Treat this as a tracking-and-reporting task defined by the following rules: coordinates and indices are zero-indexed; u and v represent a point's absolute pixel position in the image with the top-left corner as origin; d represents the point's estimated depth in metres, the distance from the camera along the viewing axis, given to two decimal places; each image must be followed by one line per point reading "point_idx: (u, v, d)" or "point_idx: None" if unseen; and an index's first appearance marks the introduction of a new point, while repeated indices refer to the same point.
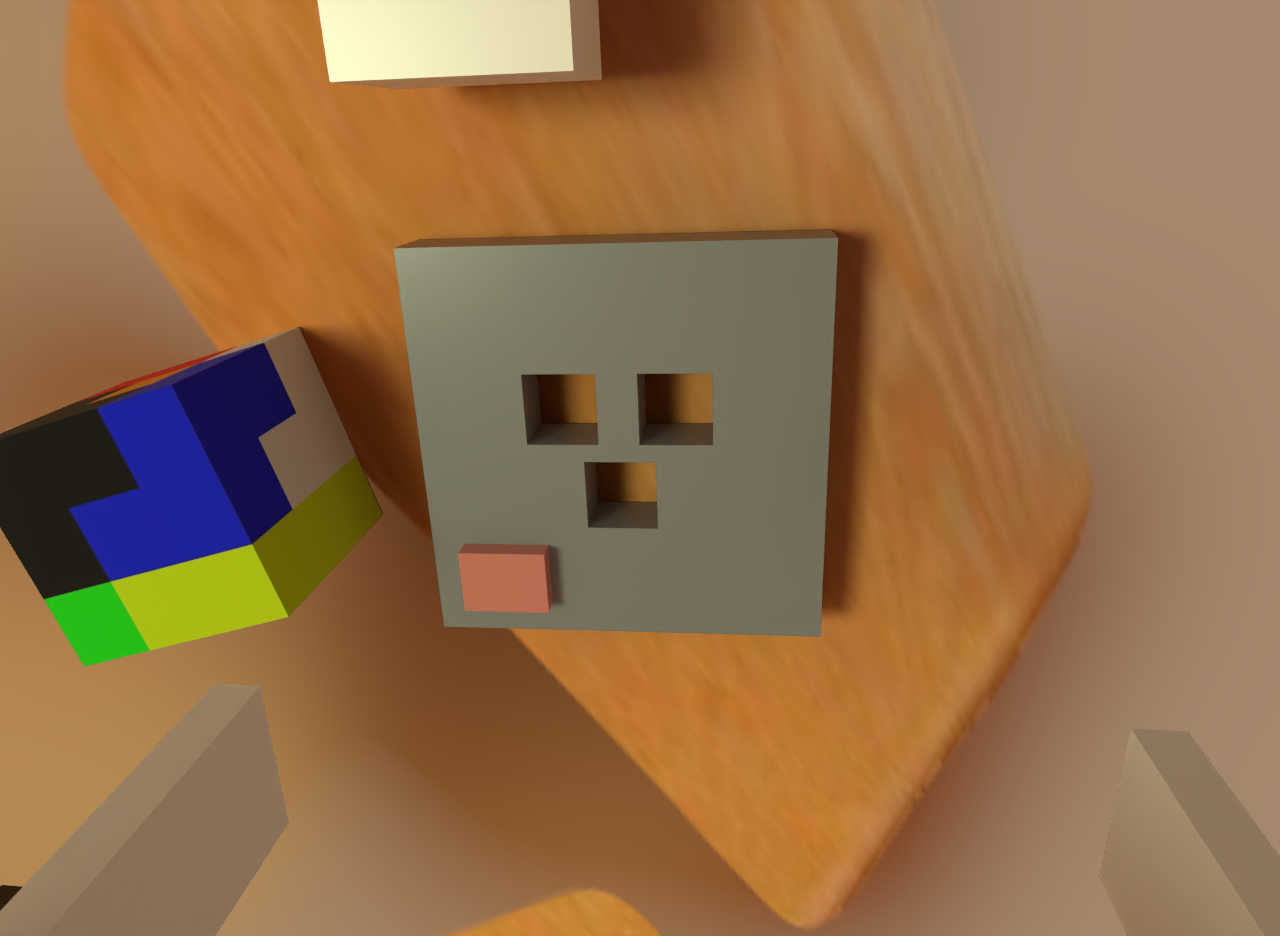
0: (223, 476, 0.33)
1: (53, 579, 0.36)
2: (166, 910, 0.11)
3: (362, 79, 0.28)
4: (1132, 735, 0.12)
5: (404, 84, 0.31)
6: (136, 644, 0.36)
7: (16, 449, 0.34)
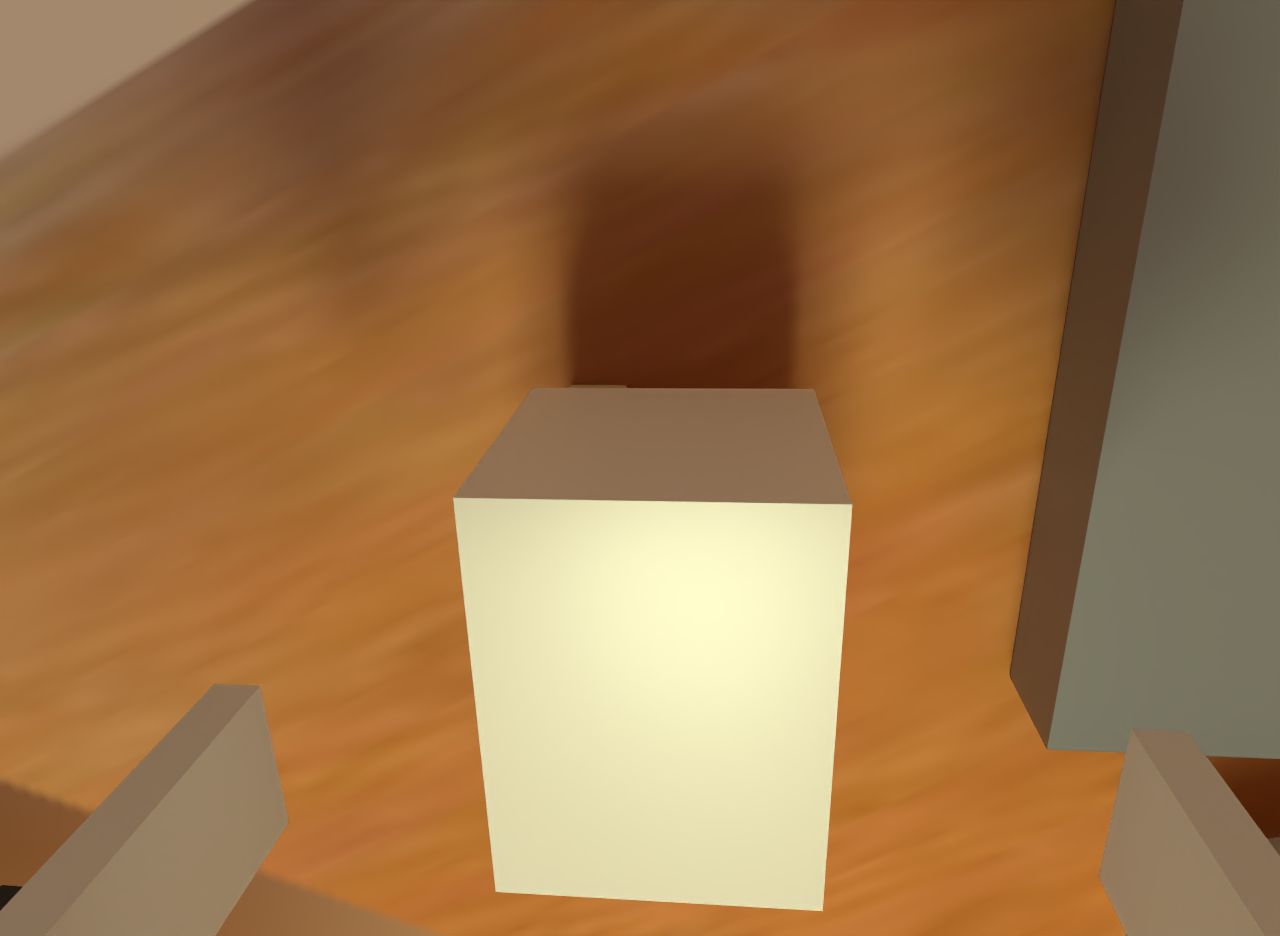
0: None
1: None
2: (166, 910, 0.11)
3: (824, 863, 0.15)
4: (1132, 735, 0.12)
5: None
6: None
7: None
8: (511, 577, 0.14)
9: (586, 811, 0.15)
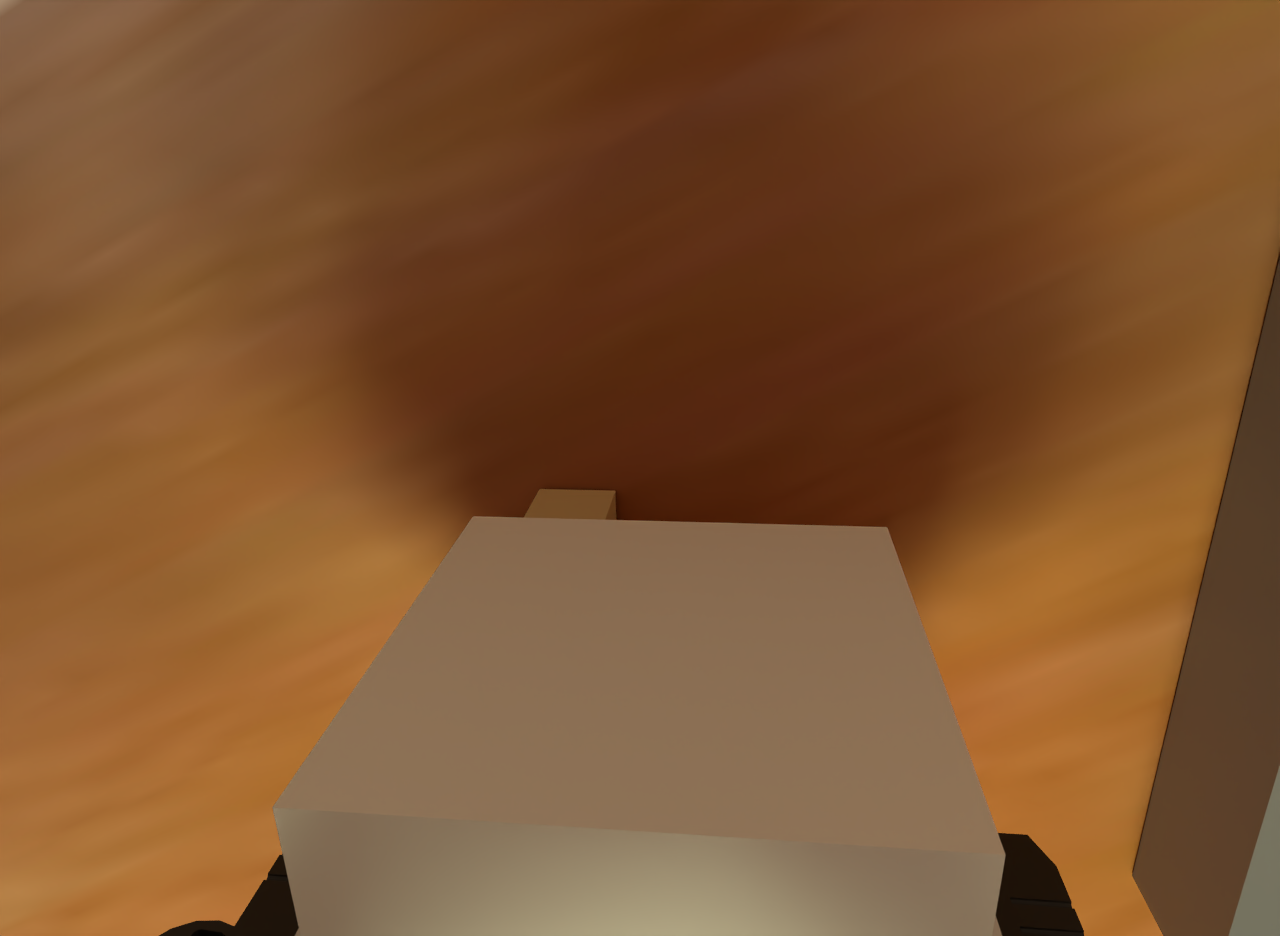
0: None
1: None
2: None
3: None
4: None
5: None
6: None
7: None
8: (384, 933, 0.08)
9: None
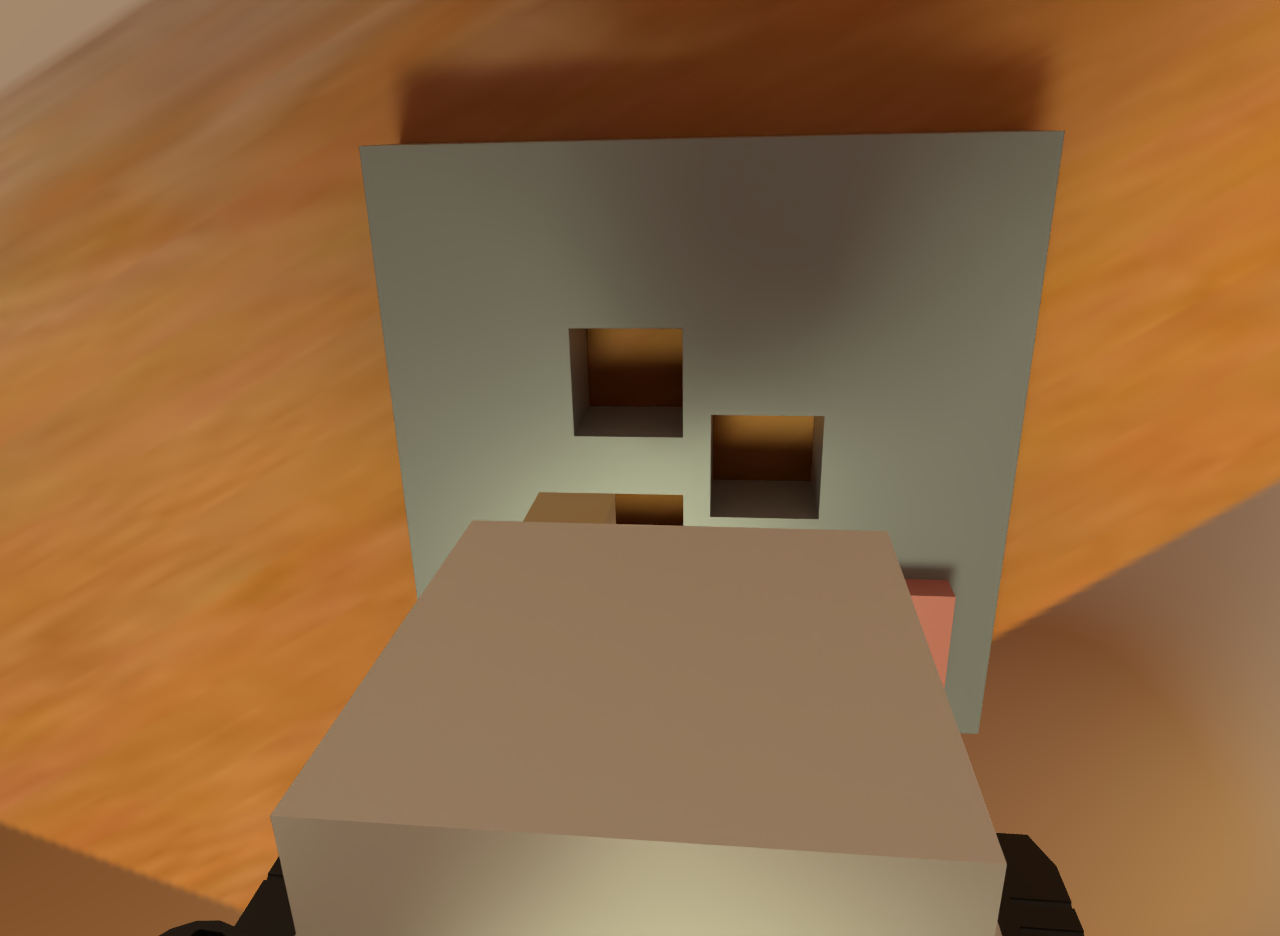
0: None
1: None
2: None
3: None
4: None
5: None
6: None
7: None
8: None
9: None
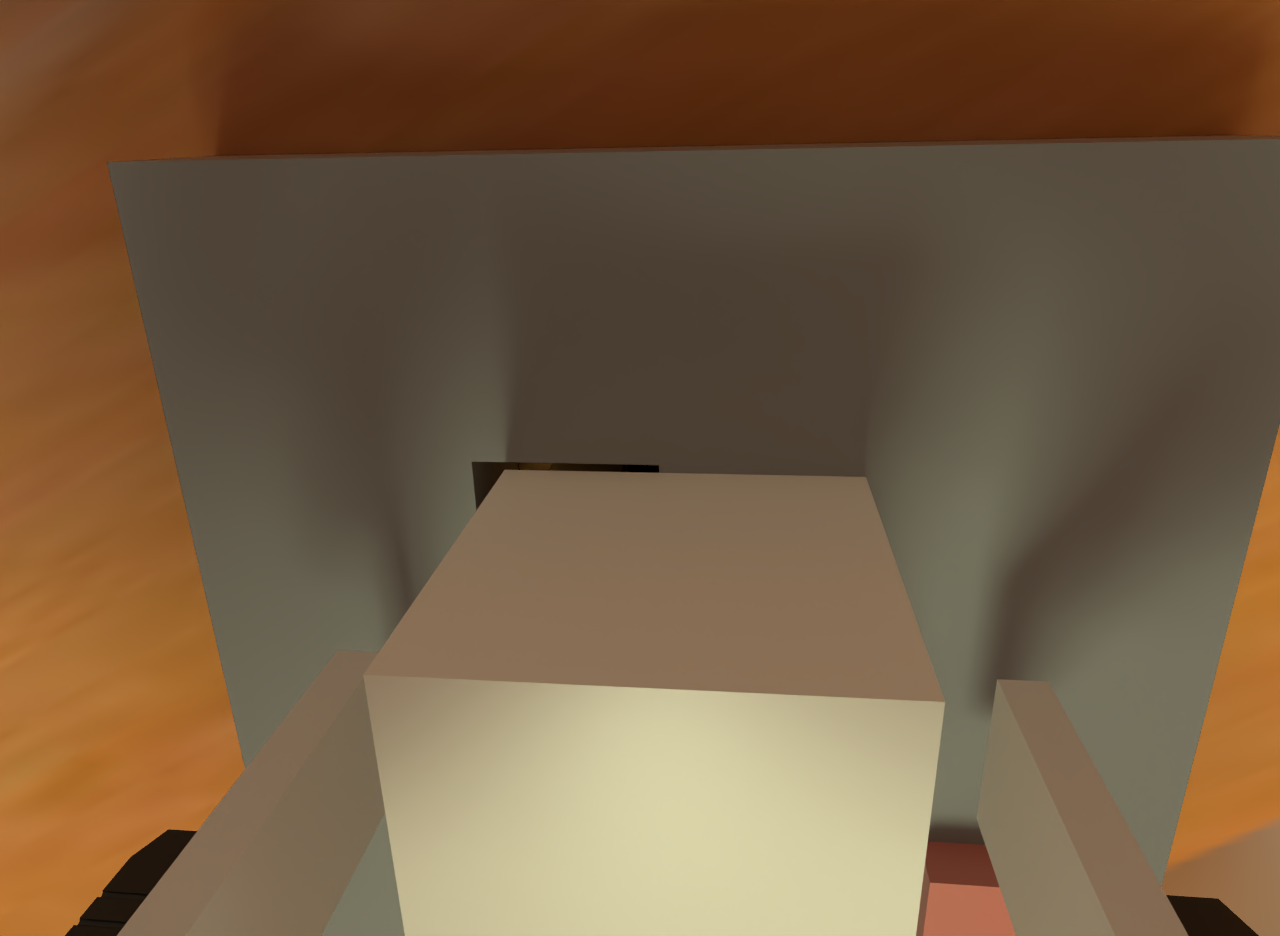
0: None
1: None
2: (314, 855, 0.12)
3: None
4: (997, 685, 0.13)
5: None
6: None
7: None
8: (449, 780, 0.10)
9: None
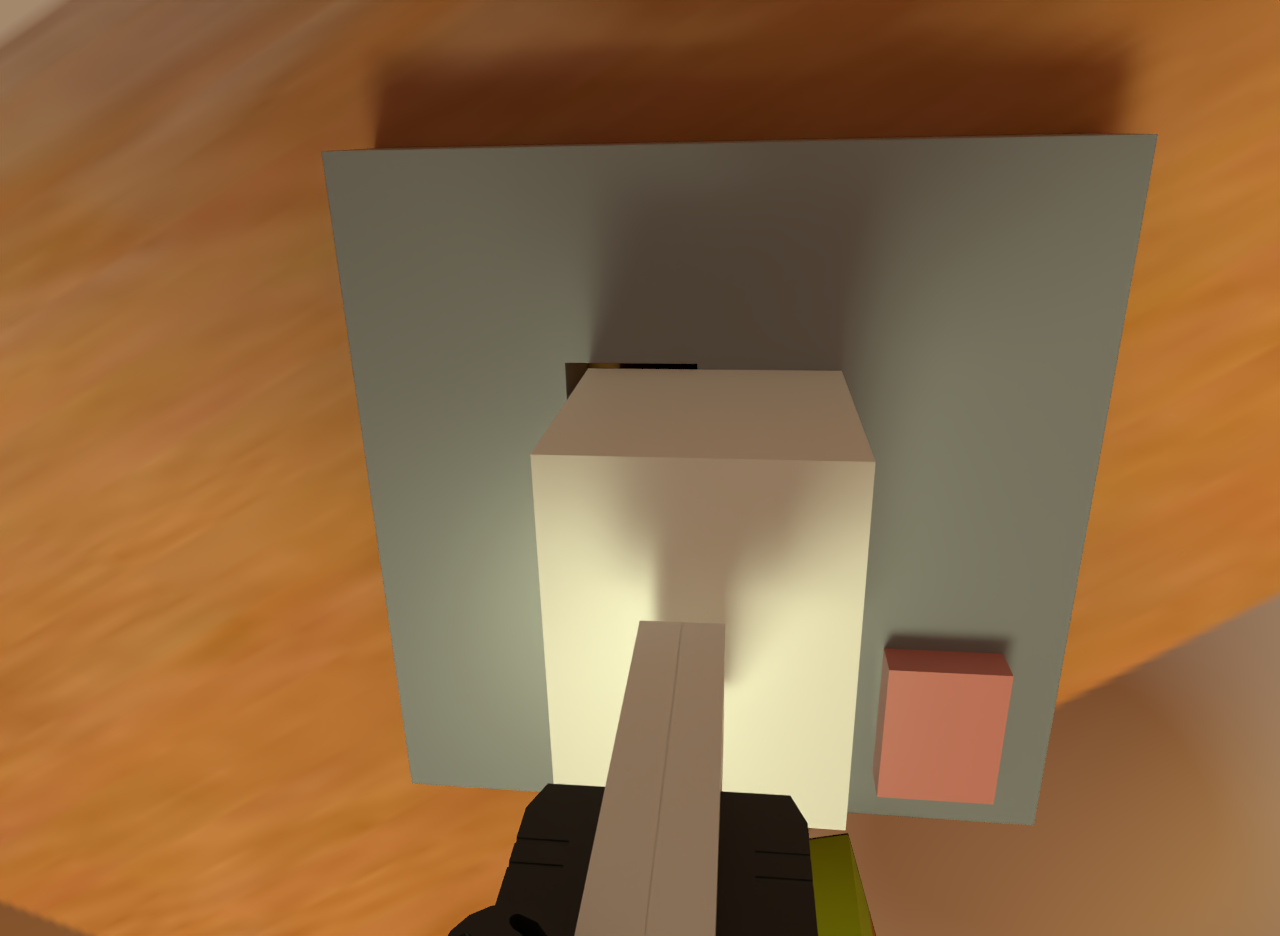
0: None
1: None
2: None
3: (847, 786, 0.17)
4: (681, 627, 0.15)
5: None
6: None
7: None
8: (578, 524, 0.16)
9: None
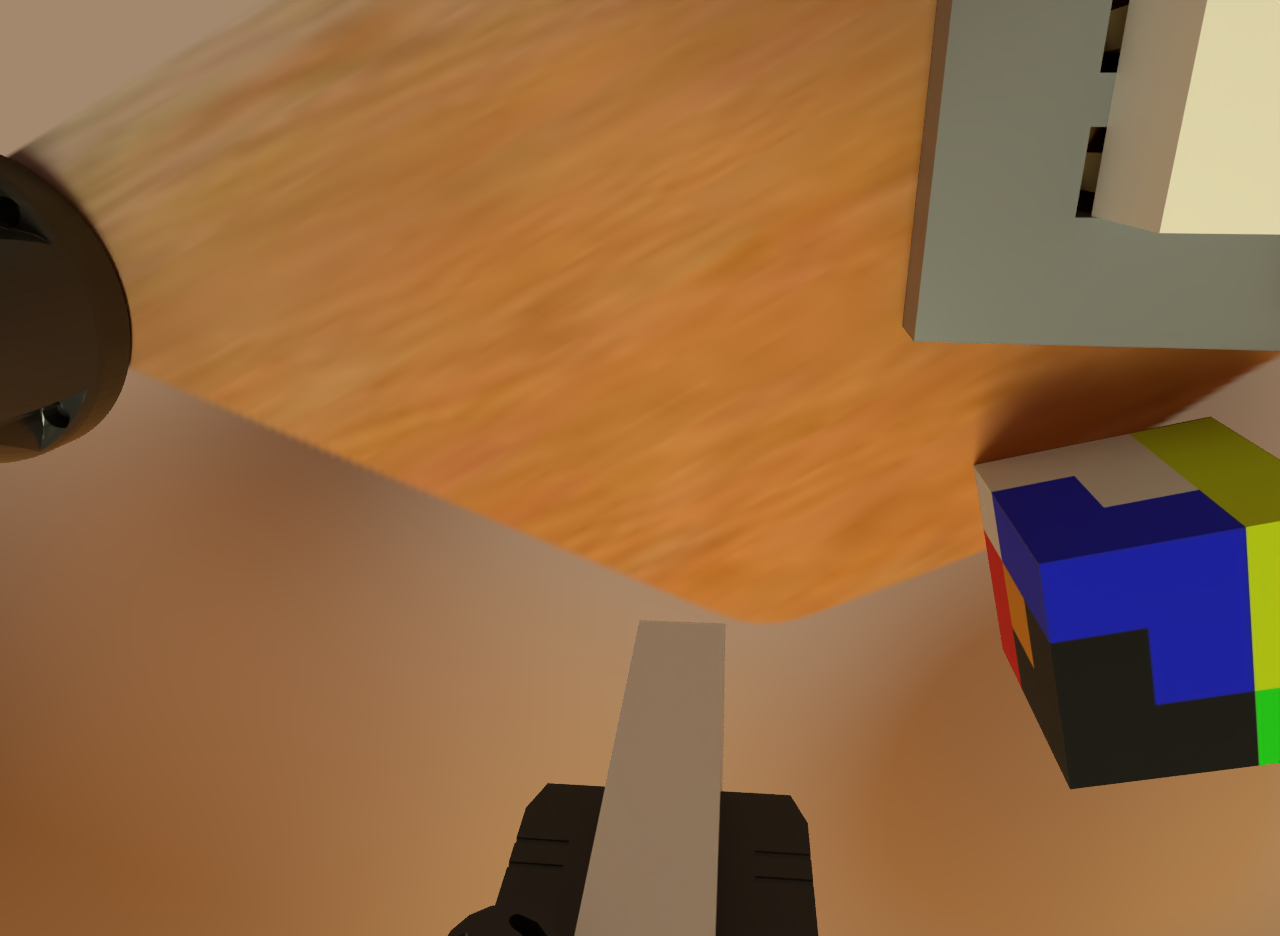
0: (1151, 539, 0.30)
1: (1236, 747, 0.33)
2: None
3: None
4: (681, 627, 0.15)
5: None
6: None
7: (1078, 732, 0.33)
8: None
9: (1236, 165, 0.27)
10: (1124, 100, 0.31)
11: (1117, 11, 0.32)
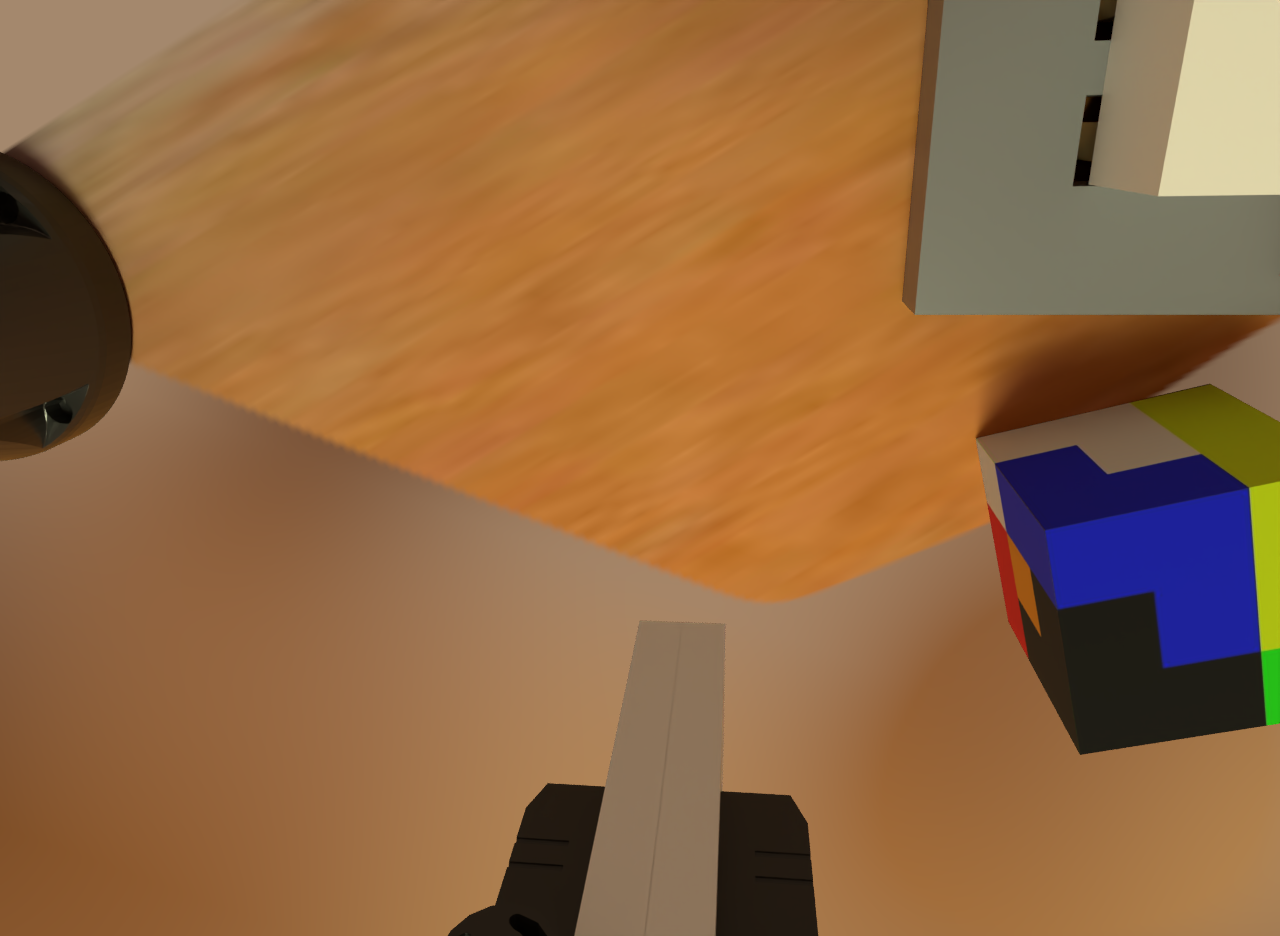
0: (1156, 502, 0.31)
1: (1243, 708, 0.33)
2: None
3: None
4: (681, 627, 0.15)
5: None
6: None
7: (1087, 698, 0.33)
8: None
9: (1232, 127, 0.27)
10: (1119, 67, 0.31)
11: None
